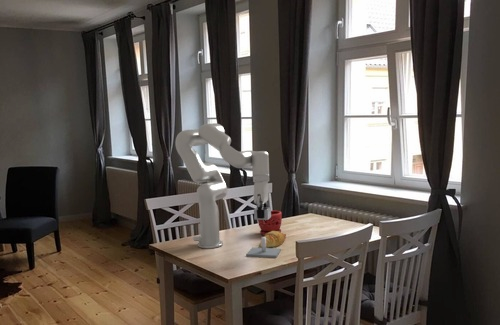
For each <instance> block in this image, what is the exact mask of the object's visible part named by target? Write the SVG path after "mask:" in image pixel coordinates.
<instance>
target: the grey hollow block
mask: <svg viewBox="0 0 500 325" xmlns="http://www.w3.org/2000/svg"><path fill="white" fill-rule="evenodd" d="M271 208H272V206H271V207H268V206H266V207H263V210H264V218H263V219H261V218H257V207H256V208H254V210H253V215H254V216H253V217H254V219H253V220H255V221H258V220H268V219H269V218H270V217H271V211H272V209H271Z"/></svg>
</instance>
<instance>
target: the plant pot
mask: <svg viewBox="0 0 500 325" xmlns="http://www.w3.org/2000/svg"><path fill="white" fill-rule="evenodd" d="M282 214H283V213H282V211H280V210H279V211H278V210H271V217H270V218H269V219H268V220H257V223H258V226H259V229H260V230H259V233H260V234H261V235H263V237H264V236H265V234H267V233H268V232H271V231H278V232H280V233H282V230H281V227H282V219H283V218H282Z"/></svg>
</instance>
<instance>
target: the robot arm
mask: <svg viewBox="0 0 500 325" xmlns="http://www.w3.org/2000/svg"><path fill="white" fill-rule="evenodd" d="M225 132H226V131H225V129H224V126H223V125H221V124H220V123H215V122H214V123H205V124H202V125H201V126H200V127H199V128H198V129H196V128H195V129H185V130H182V131H180V132H179V133H178V134H177V135H176V137H175V141H174V142H175V143H174V144H175V149H176V151H177V154H178V156H180V158H181V160H182V161H183V164H184V165H185V168H186V169H187V172H188V173H189V175H190V177H191V180H192V181H193V182H194V183H195V184H196V183H197V184H199V183H203V184H200V186H199V185H198V188H197V189H196V199H197V203H198V207H199V208H198V209H199V225H200V226H199V228H200V229H199V230H200V232H199V233H200V235H199V236H196V235H195V236H194V235H193V238H192V239H193V242H198V243H197V246H198V247H199V248H202V249H215V248H219V247H221V246H223V244H224V242H223V240H220V213H219V207H218V204H217V202H216V201H218V200H221V199H224V198H225V197H226V196H227V195H228V186H227V184H226V182H225V180H224V177H223V176H222V173H221V172H220V170H219V168H218V167H217V165H216V164H214V163H212V162H203V160H202V158H201V156H200V155H199V153H198V152H197V150H195V149H194V148H193V147H198V146H199V147H200V146H204V145H210V146H212V147H213V148H214V149H216V150H217V151H218V153H219V155H220V156H221V158H222V159H223V160H224V161H225V162H226V163H228V164H229V165H231V166H232V167H234V168H237V169H243V168H249V167H250V168H251V167H252V182H253V203H254V204H256V208H257V218H261V219H263V218H264V210H263V207H268V202H269V182H270V162H269V161H270V158H269V153H268V152H267V151H265V150H261V151H259V150H258V151H254V150H243V151H238V150H236V149H235V148H234V147H233V146H231V143H232V139H231V137H230V136H229V135H228V134H226V133H225Z"/></svg>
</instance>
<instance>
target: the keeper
mask: <svg viewBox="0 0 500 325" xmlns="http://www.w3.org/2000/svg"><path fill="white" fill-rule="evenodd" d="M260 238H261V239H260V240H261V241H260V243H261V248H260V247H253V246H252V247H251V249H250V250H248V251H247V253H246V255H245V256H246V257H251V258H253V257H256V258H272V259H273V258H278V256H279V254H280V253H281V251H282V248H275V247H269V248H266V237H264V236H261V237H260Z"/></svg>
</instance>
